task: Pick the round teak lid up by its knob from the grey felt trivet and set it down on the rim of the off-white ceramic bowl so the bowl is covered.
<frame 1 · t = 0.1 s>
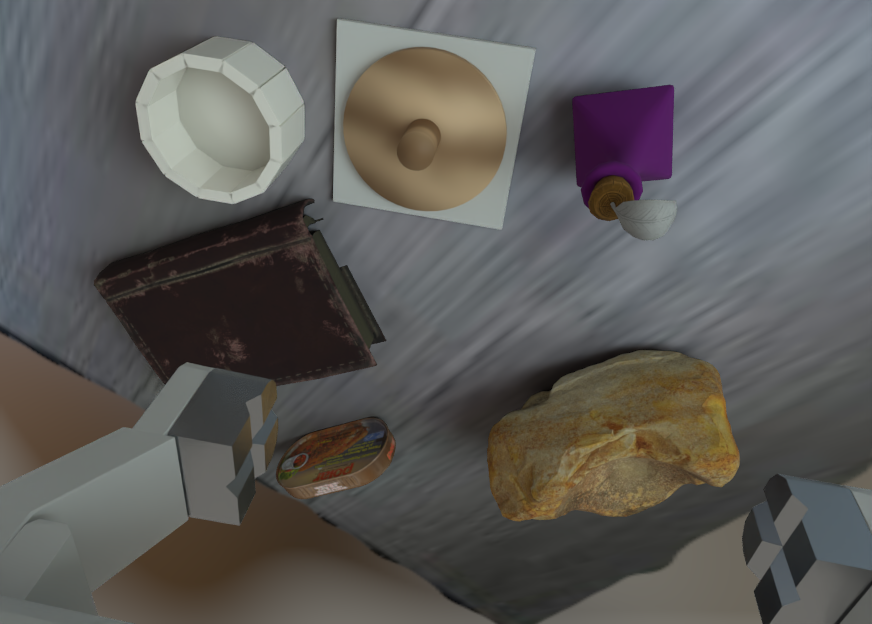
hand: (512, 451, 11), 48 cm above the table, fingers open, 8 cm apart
perfume bottle: (619, 124, 55), on the table
trivet: (426, 129, 58), on the table
bowl: (238, 110, 59), on the table
diary: (252, 299, 72), on the table
tin: (345, 432, 81), on the table
lid: (425, 132, 57), point 1 cm above the table, touching trivet
rough brown rock: (607, 410, 73), on the table
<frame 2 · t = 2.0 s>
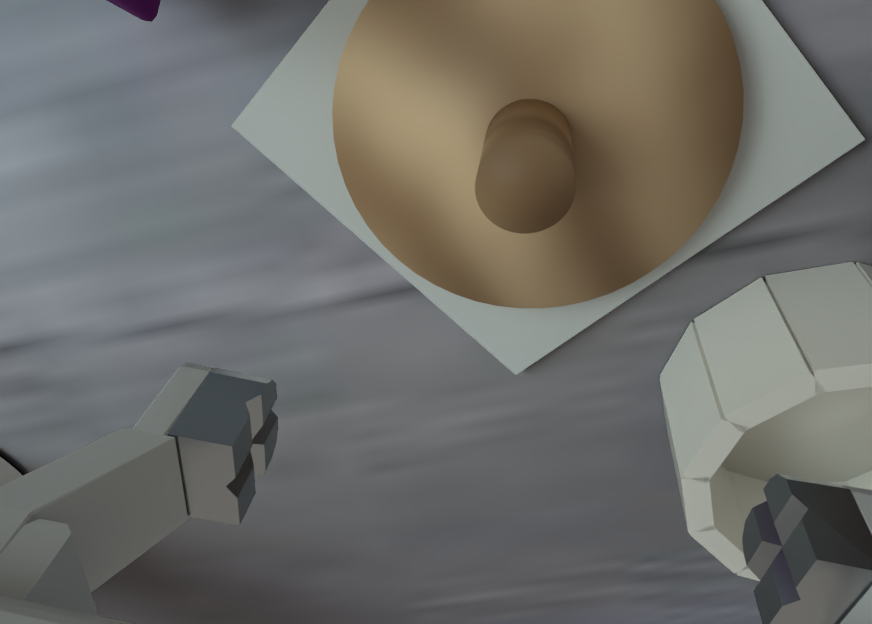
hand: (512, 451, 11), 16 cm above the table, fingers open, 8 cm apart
trivet: (529, 126, 24), on the table
bowl: (807, 386, 29), on the table
lid: (528, 132, 24), point 1 cm above the table, touching trivet
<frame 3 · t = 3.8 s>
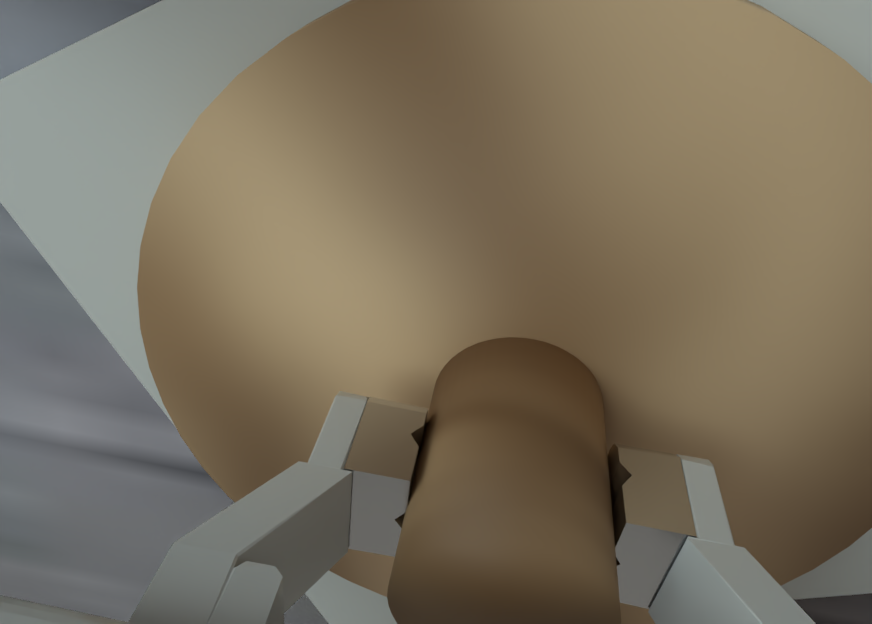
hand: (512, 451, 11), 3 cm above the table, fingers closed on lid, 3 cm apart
trivet: (520, 351, 13), on the table
lid: (519, 370, 13), point 1 cm above the table, touching gripper, trivet
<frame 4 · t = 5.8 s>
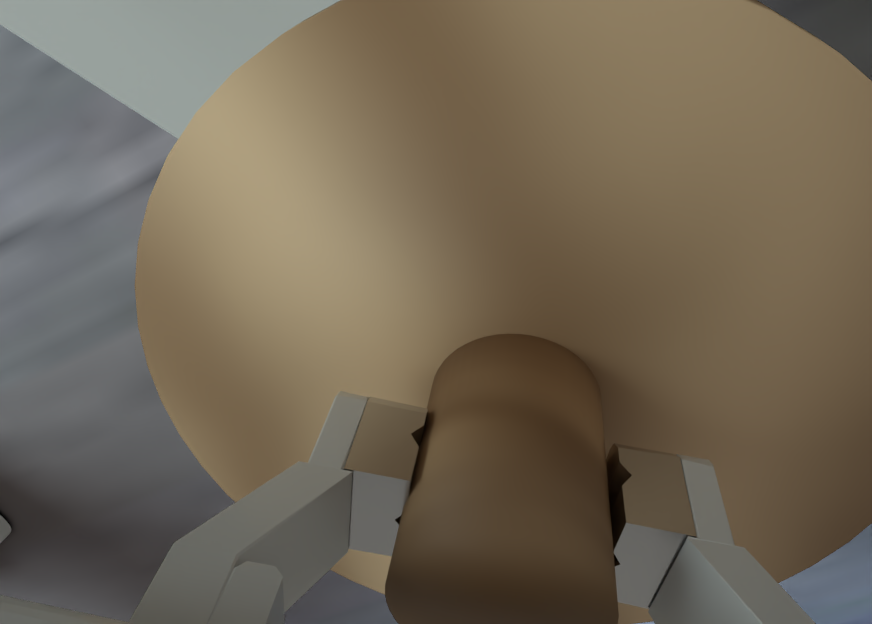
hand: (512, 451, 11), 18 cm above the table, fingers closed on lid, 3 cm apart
lid: (517, 366, 13), point 16 cm above the table, touching gripper
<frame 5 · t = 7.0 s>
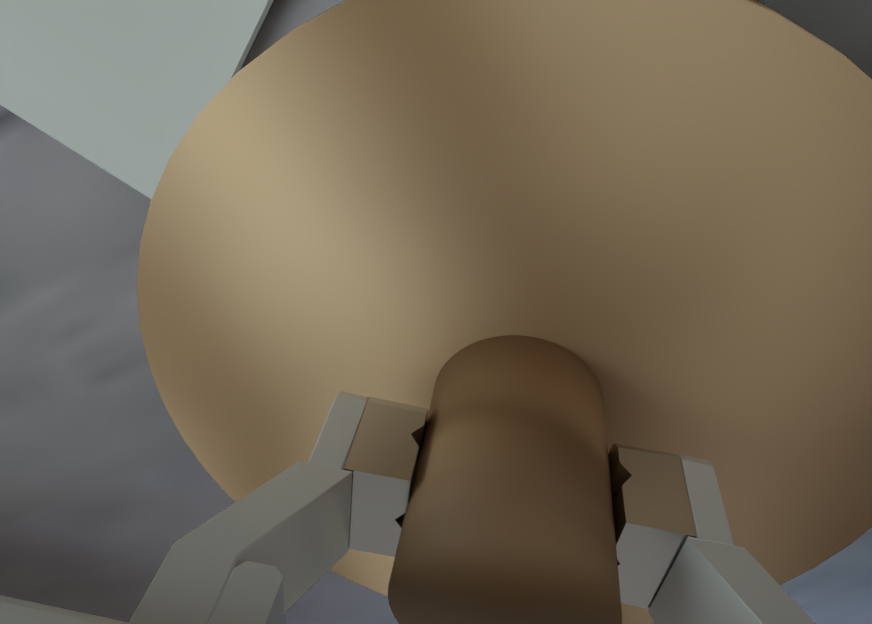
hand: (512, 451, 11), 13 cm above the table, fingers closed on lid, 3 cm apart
lid: (519, 368, 13), point 11 cm above the table, touching gripper
when the fingers open (9 cm above the table, at t = 7.8 s): lid drops 1 cm, resting on bowl.
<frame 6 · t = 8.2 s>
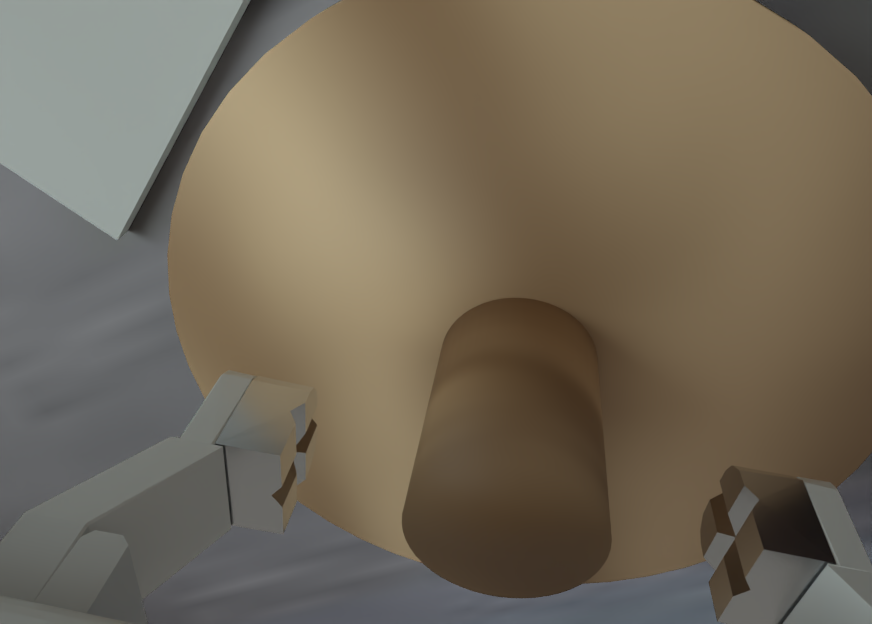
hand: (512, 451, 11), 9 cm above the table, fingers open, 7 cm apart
lid: (520, 332, 14), point 6 cm above the table, touching bowl
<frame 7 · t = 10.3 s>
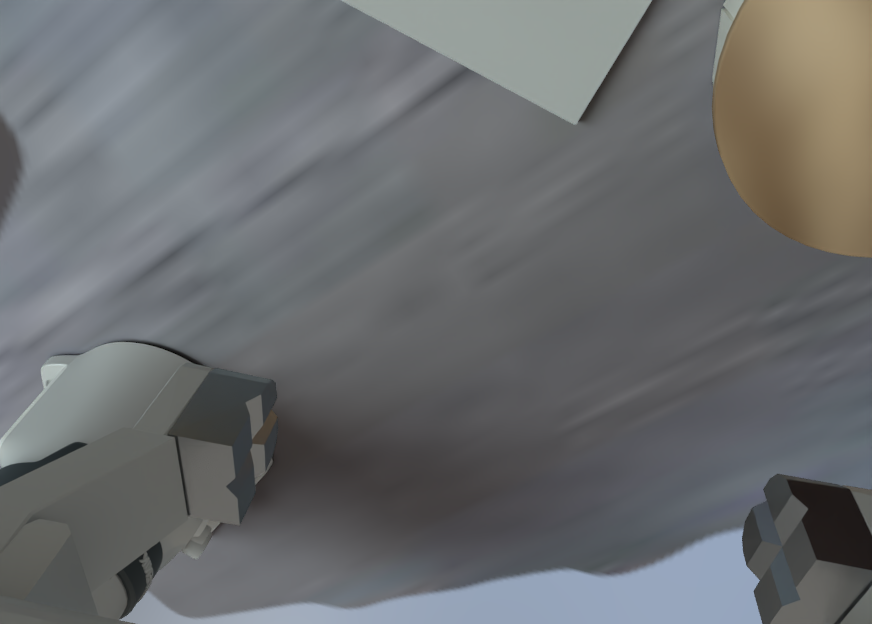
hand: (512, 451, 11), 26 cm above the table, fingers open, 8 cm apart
bowl: (866, 37, 29), on the table
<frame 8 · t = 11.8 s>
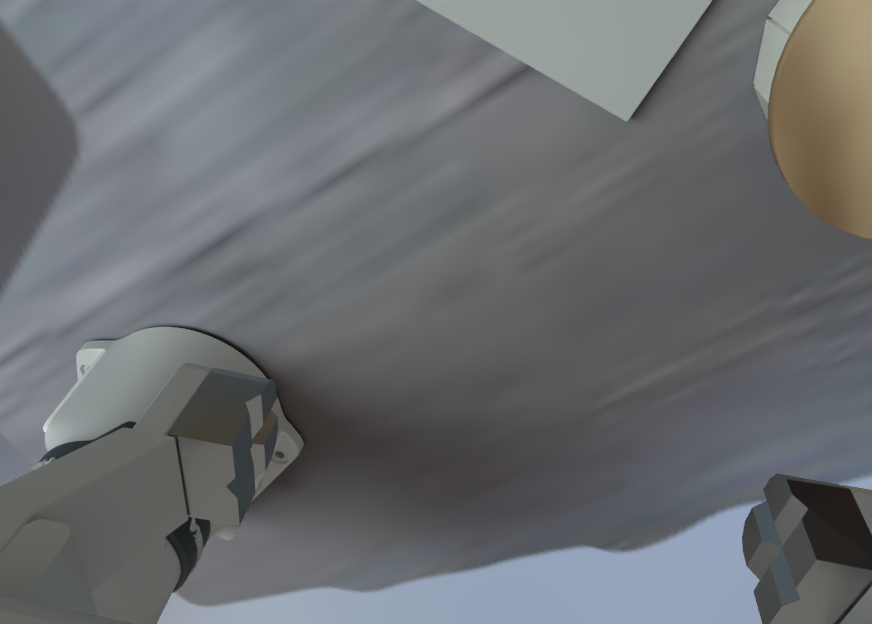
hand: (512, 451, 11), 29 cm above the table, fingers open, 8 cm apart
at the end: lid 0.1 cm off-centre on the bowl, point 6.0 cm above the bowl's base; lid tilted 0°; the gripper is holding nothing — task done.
